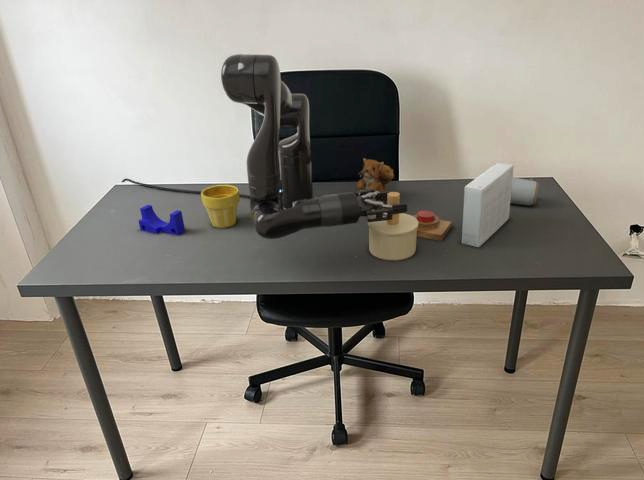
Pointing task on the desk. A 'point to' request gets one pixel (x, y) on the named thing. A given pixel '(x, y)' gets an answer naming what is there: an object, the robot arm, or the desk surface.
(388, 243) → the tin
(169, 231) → the blue cradle stand
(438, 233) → the button block
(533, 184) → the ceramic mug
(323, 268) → the desk surface
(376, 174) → the stuffed squirrel
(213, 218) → the flower pot
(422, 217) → the button
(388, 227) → the lid
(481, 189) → the skincare box
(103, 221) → the desk surface
